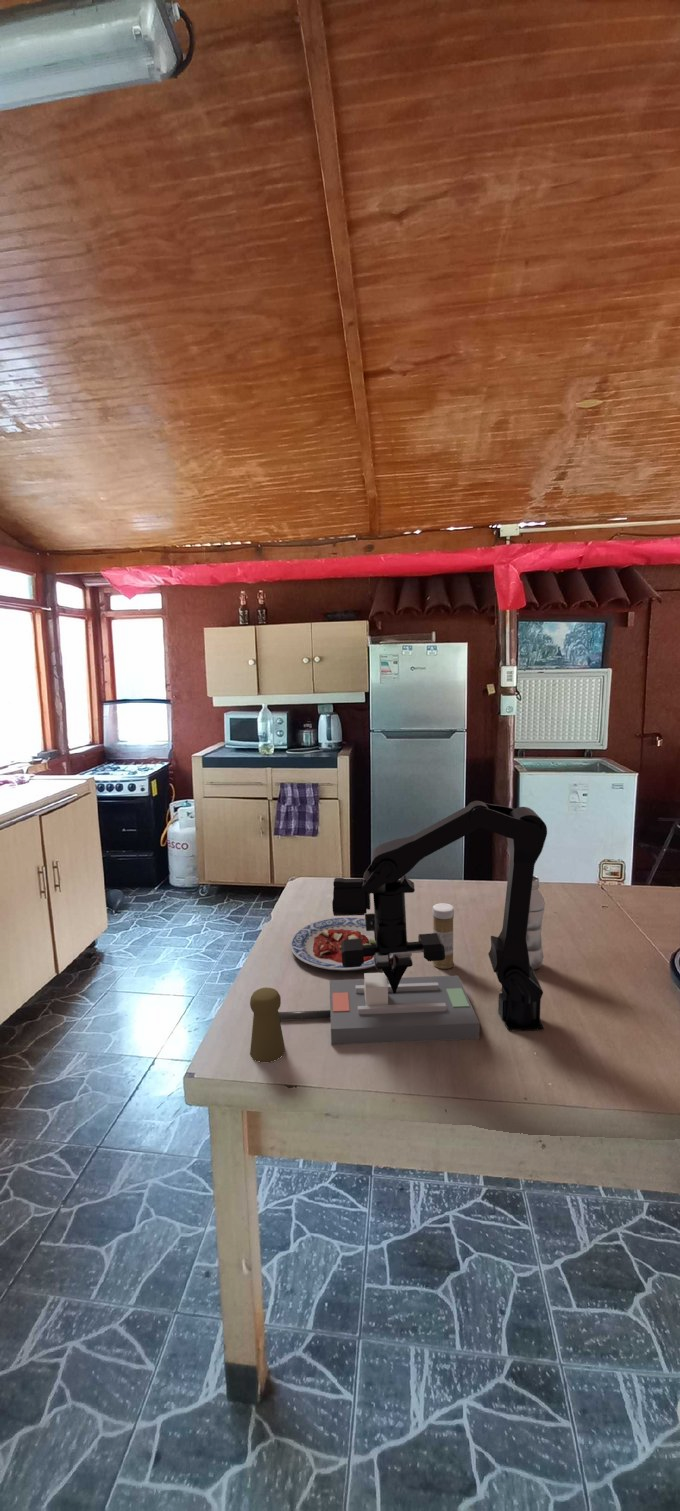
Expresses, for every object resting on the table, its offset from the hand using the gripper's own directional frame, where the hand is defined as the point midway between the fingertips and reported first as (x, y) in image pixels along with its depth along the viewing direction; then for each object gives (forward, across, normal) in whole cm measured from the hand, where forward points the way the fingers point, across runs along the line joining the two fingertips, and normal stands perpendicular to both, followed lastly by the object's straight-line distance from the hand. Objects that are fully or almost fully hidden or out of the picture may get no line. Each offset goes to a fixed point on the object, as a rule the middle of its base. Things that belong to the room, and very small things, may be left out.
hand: (394, 992), depth 110 cm
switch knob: (+1, +3, 0) cm, 4 cm away
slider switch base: (+4, +4, 0) cm, 6 cm away
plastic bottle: (+6, -31, -16) cm, 35 cm away
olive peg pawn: (+4, +23, +9) cm, 25 cm away
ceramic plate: (+5, +8, -27) cm, 29 cm away
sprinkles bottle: (+5, -13, -18) cm, 23 cm away
